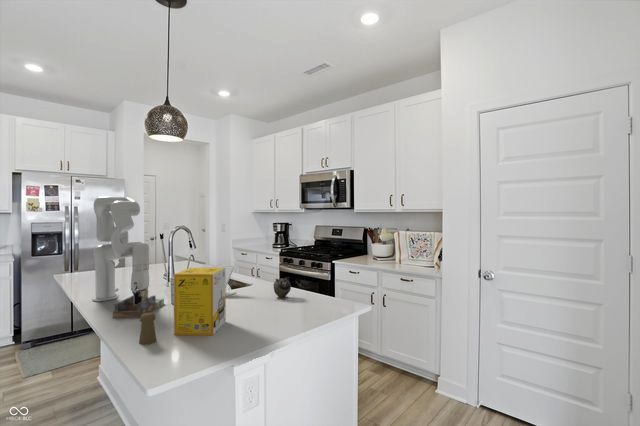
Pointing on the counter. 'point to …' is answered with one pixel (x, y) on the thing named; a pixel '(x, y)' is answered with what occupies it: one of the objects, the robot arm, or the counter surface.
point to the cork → (147, 329)
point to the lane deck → (136, 307)
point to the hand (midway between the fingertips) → (140, 302)
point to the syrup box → (172, 289)
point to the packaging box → (199, 301)
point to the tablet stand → (227, 274)
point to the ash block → (143, 295)
